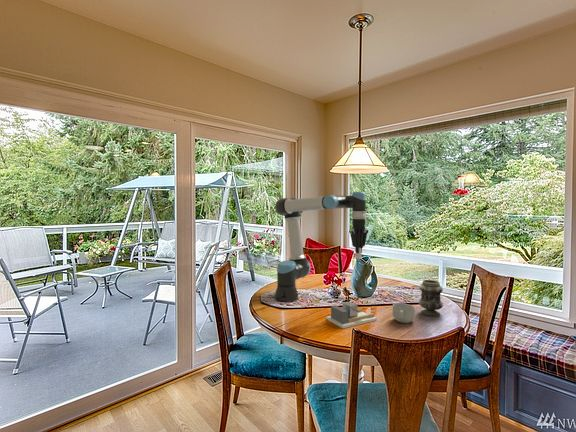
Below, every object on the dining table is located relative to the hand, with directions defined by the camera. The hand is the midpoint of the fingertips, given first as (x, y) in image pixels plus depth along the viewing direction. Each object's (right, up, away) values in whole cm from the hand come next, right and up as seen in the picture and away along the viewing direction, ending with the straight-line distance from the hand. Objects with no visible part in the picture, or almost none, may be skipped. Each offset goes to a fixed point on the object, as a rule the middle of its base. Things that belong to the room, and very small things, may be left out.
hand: (358, 258), depth 180 cm
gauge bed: (-8, -29, -19) cm, 36 cm away
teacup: (+17, -30, -22) cm, 41 cm away
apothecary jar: (+37, -29, -11) cm, 48 cm away
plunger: (-8, -28, -21) cm, 36 cm away
